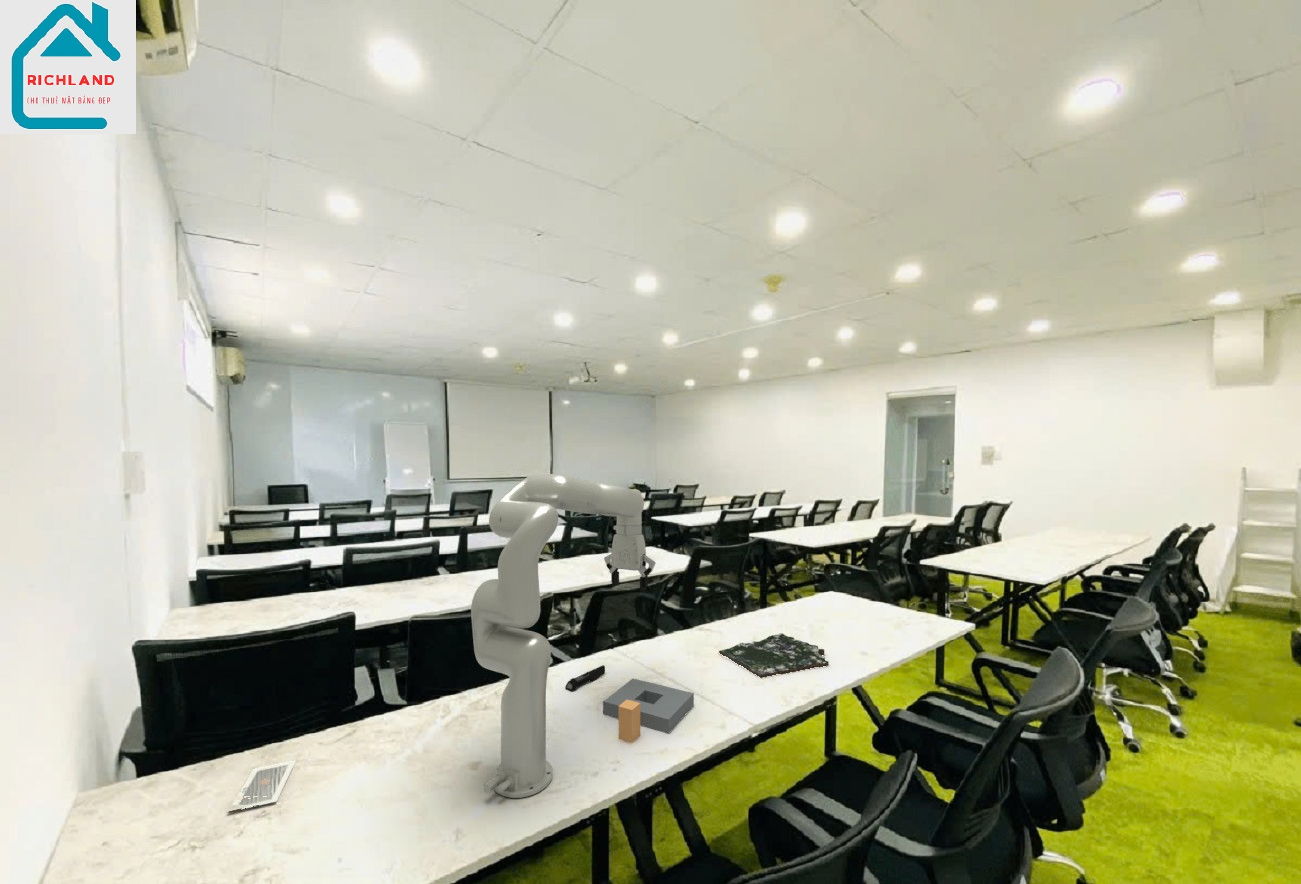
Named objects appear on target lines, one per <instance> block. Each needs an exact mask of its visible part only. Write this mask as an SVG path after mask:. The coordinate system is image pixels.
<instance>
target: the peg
mask: <svg viewBox="0 0 1301 884" xmlns="http://www.w3.org/2000/svg"><path fill="white" fill-rule="evenodd" d="M639 737H641V725H640V703H638V702H635V701H631V700H625V701H624V702H623V703H622V704H621V705H619V719H618V740H620V741H625V742H627V743H631V744H633V743H634V742H635V741H636V740H637V739H638V738H639Z"/></svg>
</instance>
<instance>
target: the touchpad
mask: <svg viewBox="0 0 1301 884" xmlns="http://www.w3.org/2000/svg"><path fill="white" fill-rule="evenodd" d="M296 761H297V759H294V760H287V761H284V762H280V763H275V764H274V763H273V764H269V765H264V766H260V767H254V768H253V770H251V772H250V774H249V776H248V778H247V779H246V782H245V783H244V785H243V786H242V788H241V789H240V791H241V792H240V791H239V793H238V794H237V796H243V799H242V800H241V802H239V803H238V801H240V800H237V801H236V800H235V799H237V797H236V798H235V799H234V801H235V802H234V801H233V803H232V805H249V806H247V807H244V808H242V809H241V810H245V808H246V809H249V808H253V805H259V806H263V805H267V804H273V803H276V802H277V801H278V799H279V797H280V795H281V793H282V791H283V789H284V787H285V784H286V782H287V781H288V778H289V776H290V775H291V772H292V770H293V767H294V766H295V763H296ZM265 768H267V769H265ZM244 796H250V797H246V798H244ZM253 796H258V797H254V798H253ZM263 796H267V797H263ZM248 798H251V799H248ZM232 805H231V806H232Z"/></svg>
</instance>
